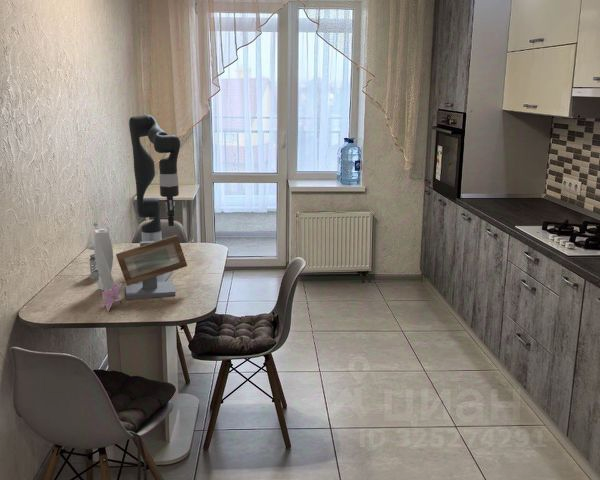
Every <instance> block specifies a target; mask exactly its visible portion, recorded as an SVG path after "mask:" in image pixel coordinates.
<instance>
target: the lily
mask: <svg viewBox="0 0 600 480" xmlns="http://www.w3.org/2000/svg"><path fill="white" fill-rule="evenodd" d="M122 285H123V283H118V284H117V285H116V283H115V281H114V283H113V285H112V287H111V290H105V291H103V290H102V292H101V294H102V297H103V299H105V300H104V302H103V303H102V306H101V308H104V307H106V311H107V312H108V313H109V311H110V309H111V307H112V304H113V303H114V302H118V301H119V302H120V304H121V305H124V304H123V302H122V301H121V297H120V295H119V294H118V292H119V290H120V288H121V287H122Z"/></svg>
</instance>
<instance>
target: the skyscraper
mask: <svg viewBox="0 0 600 480" xmlns="http://www.w3.org/2000/svg"><path fill="white" fill-rule="evenodd" d="M93 244H94V250H93V251H94V253H93V254H95V261H96V266H97V268H96V269H98V272H99V279H98V281H97V290H99V289H101V290H100V291H103V290H104V291H105V290H110V289H111V287H112V285H113V283H114V282H115V281H114V279H113V278H114V277H113V276H112V270H113V263H114V250H113V244H112V239H111V236H110V226H109V225H107V226H106V228H99V229H97V228H95V230H94V243H93Z"/></svg>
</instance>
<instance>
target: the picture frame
mask: <svg viewBox="0 0 600 480" xmlns="http://www.w3.org/2000/svg"><path fill="white" fill-rule="evenodd" d="M115 256H116V259H117V262H118V265H119V268H120V269H121V273H122V275H123V278H124V280H125V281H124V282H125V285H126V284H127V286H129V285H132V284H135V283H138V282H141V281H144V280H147V279H150V278H153V277H156V276H159V275H162V274H165V273H168V272H171V271H173V272H174V271H177V270H179V269H180V270H181V269H183V268H186V267H188V264H187V260H186V258H185V255H184V252H183V248H182V245H181V243H180V240H179V237H178V234H175V235H171V236H167V237H165V238H162V239H161V240H158V241H155V242H152V243H149V244H146V245H143V246H140V245H139V246H136V247H134V248H131V249H128V250H125V251H121V252H117V253H116V254H115Z"/></svg>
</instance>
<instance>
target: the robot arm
mask: <svg viewBox="0 0 600 480" xmlns="http://www.w3.org/2000/svg"><path fill="white" fill-rule="evenodd" d="M128 128H129V133H130V140H131V146H132V156H133V157H132V158H133V172H134V180H135V186H136V187H135V190H136V211H137V215H138V217H139V218H143V219H144V218H145V219H146V218H153V219H152V220H151V221H148V222H147V223H144V224H143V225H141V227H140V228H141V229H140V230H141V242H144V241H158V240H161V239H163V238H162V223H161V202H160V199H159V198H157V197H145V193H146V191H147V189H148V188H149V186H150V185H151V183H152V182H153V180H154V178H155V175H156V166H155V160H154V159H153V157H152V156H151V154H149V152H148V151H147V150H146V149H145V148H144V147H143V145H142V143H141V141H140V139H141V138H142V137H148V141H150V142H151V144H153V148H154V151H155V152H156V153H158V154H169V155H168V157H165V158H162V159H160V160H159V161H158V166H159V195H160V196H161V197H164V198H166V199H165V200H164V205H165V211H166V214H167V215H166V216H167V222H168V223H167V224H168V227H174V226H175V219H174V217H175V211H176V207H175V206H176V200H175V199H174V197H178V196H179V195H180V192H179V190H180V188H179V177H178V165H177V164H178V158H179V152H180V149H181V140H180V138H179V137H178V136H177V134H176V135H175V134H168V133H167V132H166V131H164V130H163V129H161V127H160V125H159V124H158V122H157V120H156V119H155V117H153V115H151V114H143V115H134V116H131V117H130V118H129V121H128ZM144 197H145V198H144Z"/></svg>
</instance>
